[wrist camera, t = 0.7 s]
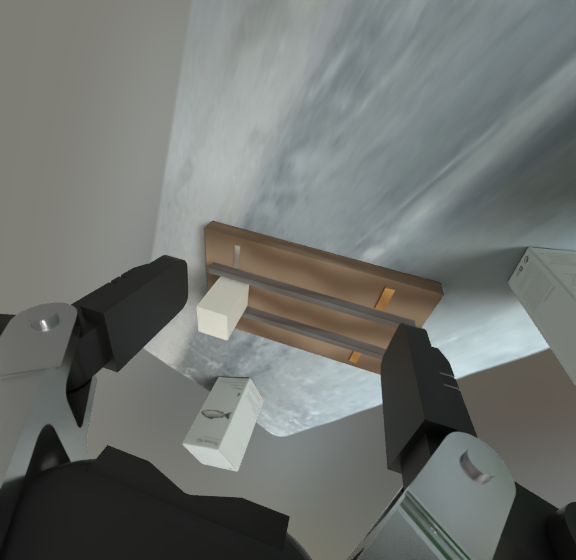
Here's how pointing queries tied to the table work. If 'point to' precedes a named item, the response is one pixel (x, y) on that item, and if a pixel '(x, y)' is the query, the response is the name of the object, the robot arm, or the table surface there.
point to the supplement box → (225, 423)
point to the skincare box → (550, 299)
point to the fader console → (318, 295)
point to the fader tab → (222, 307)
